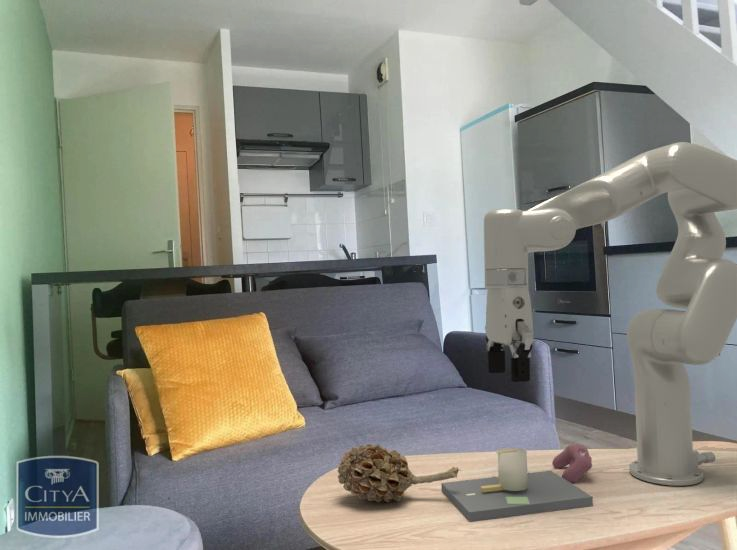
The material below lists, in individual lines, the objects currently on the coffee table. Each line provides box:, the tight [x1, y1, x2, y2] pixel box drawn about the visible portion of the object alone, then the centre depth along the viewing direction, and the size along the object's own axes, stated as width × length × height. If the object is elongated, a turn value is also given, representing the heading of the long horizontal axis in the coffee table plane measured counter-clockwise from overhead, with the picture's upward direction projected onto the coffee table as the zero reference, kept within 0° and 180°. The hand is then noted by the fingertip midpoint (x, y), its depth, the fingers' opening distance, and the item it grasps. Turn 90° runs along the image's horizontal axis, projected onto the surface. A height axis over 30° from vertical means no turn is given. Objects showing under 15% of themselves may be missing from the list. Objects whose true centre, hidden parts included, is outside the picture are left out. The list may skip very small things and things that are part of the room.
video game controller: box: [551, 442, 593, 483], centre depth 114 cm, size 10×5×7 cm, turn 174°
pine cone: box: [337, 443, 462, 503], centre depth 105 cm, size 22×10×10 cm, turn 89°
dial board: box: [440, 470, 594, 522], centre depth 103 cm, size 22×14×2 cm, turn 101°
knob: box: [480, 447, 529, 492], centre depth 103 cm, size 8×5×7 cm, turn 101°
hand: (508, 376), depth 104 cm, fingers open, 9 cm apart
